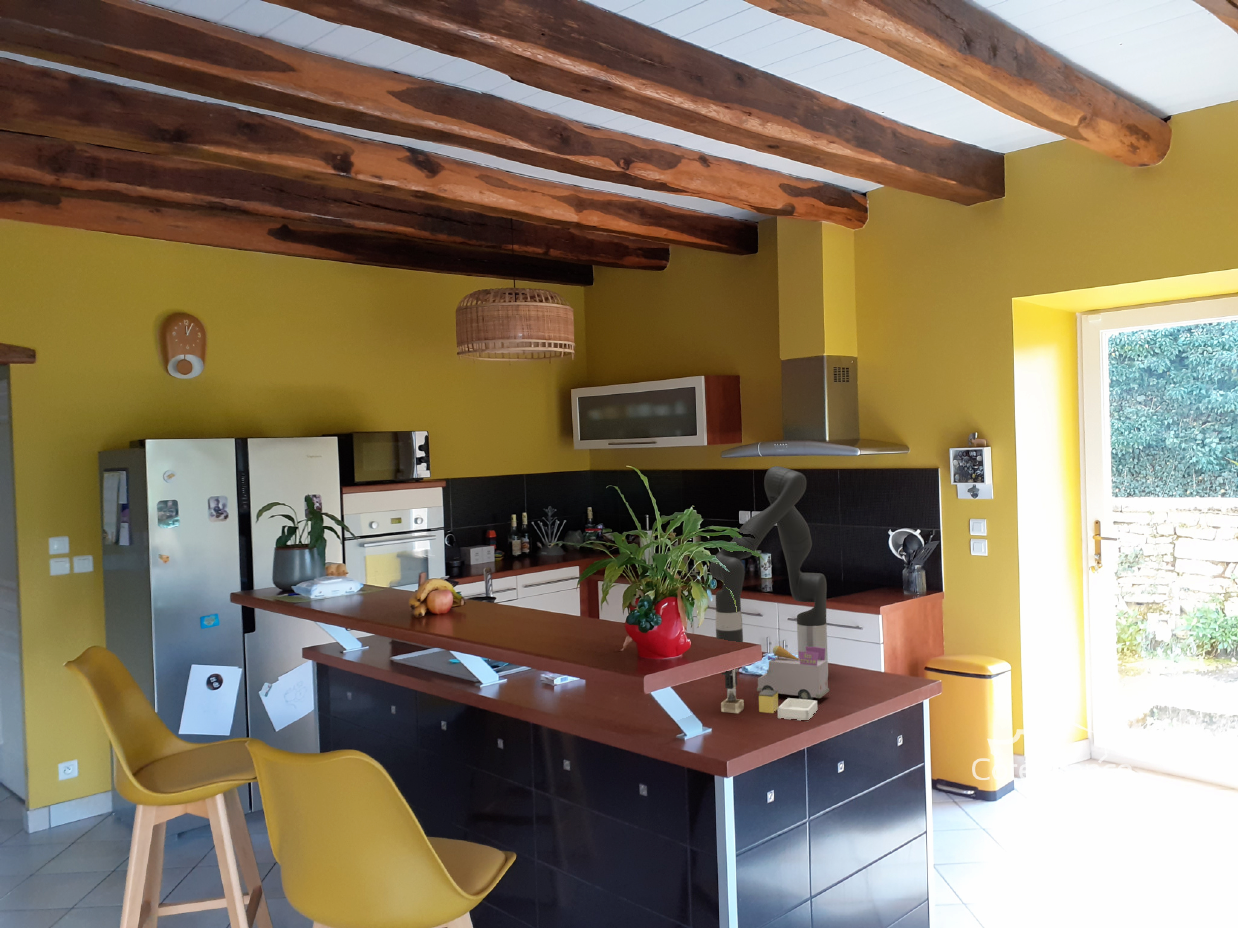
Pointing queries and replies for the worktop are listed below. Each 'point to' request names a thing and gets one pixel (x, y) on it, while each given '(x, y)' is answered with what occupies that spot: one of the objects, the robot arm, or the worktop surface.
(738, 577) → the robot arm
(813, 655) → the toy vehicle
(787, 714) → the tray
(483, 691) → the worktop surface
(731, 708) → the holder
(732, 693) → the pin
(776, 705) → the block
